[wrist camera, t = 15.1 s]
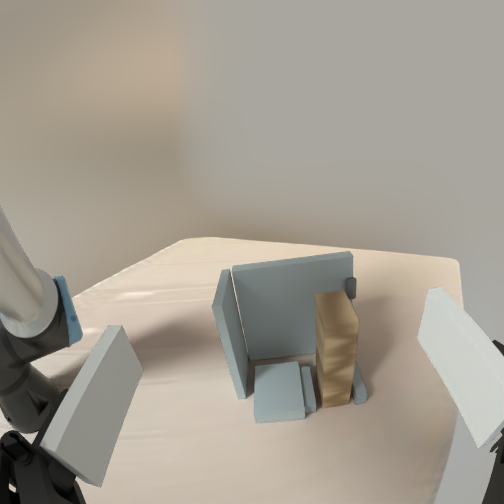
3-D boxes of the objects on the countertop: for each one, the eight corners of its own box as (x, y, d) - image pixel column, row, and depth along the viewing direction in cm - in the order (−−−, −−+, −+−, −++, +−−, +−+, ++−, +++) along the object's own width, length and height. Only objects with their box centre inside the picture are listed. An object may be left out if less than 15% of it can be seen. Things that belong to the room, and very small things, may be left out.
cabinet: (236, 424, 35) (205, 333, 28) (241, 353, 50) (222, 267, 43) (371, 406, 33) (392, 308, 27) (348, 340, 48) (351, 250, 41)
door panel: (322, 408, 35) (324, 326, 29) (316, 375, 42) (314, 294, 36) (348, 403, 35) (359, 320, 29) (339, 371, 42) (344, 289, 36)
